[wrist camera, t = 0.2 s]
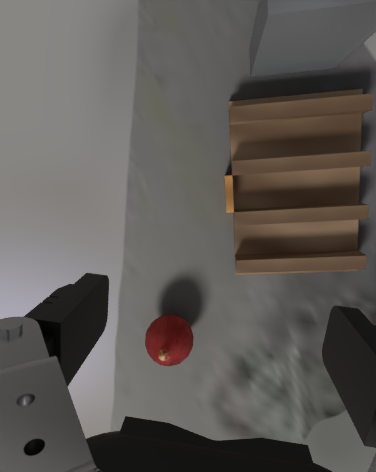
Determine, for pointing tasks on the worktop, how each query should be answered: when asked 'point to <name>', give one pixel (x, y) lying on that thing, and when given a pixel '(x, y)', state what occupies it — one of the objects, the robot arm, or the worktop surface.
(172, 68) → the worktop surface
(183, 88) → the worktop surface
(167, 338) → the onion
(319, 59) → the panel
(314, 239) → the rack
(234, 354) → the worktop surface
